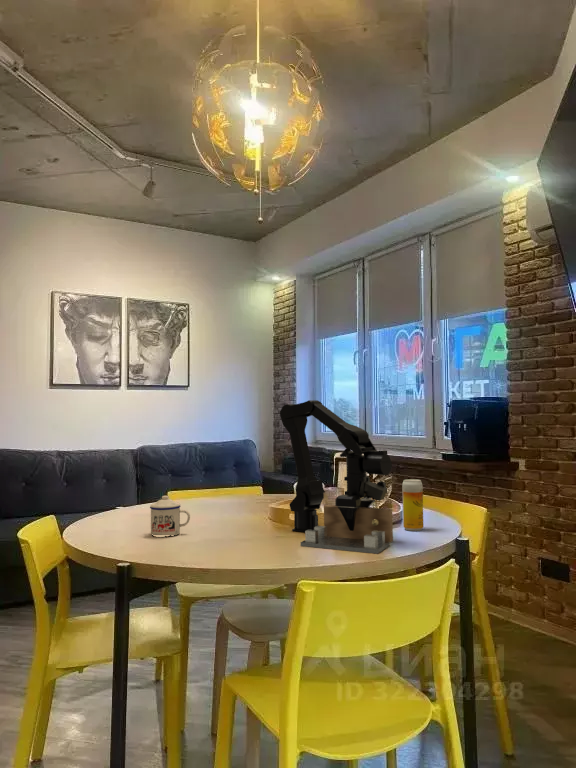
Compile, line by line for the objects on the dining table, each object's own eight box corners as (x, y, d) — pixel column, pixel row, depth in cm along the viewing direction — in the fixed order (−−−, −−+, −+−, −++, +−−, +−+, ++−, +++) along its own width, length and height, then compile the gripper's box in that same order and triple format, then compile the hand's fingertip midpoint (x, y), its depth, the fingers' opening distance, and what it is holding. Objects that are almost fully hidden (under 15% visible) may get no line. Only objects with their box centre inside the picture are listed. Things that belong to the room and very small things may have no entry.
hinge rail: (300, 545, 161) (300, 531, 161) (315, 538, 170) (315, 524, 170) (377, 553, 151) (377, 537, 151) (389, 545, 160) (389, 530, 160)
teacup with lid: (147, 538, 174) (147, 498, 175) (153, 532, 183) (152, 494, 184) (188, 537, 175) (188, 497, 175) (191, 531, 184) (191, 493, 184)
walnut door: (322, 537, 172) (322, 506, 172) (327, 535, 175) (327, 504, 175) (389, 543, 163) (388, 511, 163) (392, 541, 166) (392, 509, 166)
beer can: (423, 531, 178) (422, 481, 178) (403, 531, 179) (402, 481, 180) (423, 527, 184) (422, 479, 184) (403, 527, 185) (402, 479, 186)
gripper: (372, 477, 158) (373, 536, 158) (393, 470, 175) (394, 524, 174) (334, 476, 163) (335, 532, 163) (357, 469, 180) (358, 521, 179)
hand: (357, 527), depth 170 cm, fingers open, 9 cm apart
